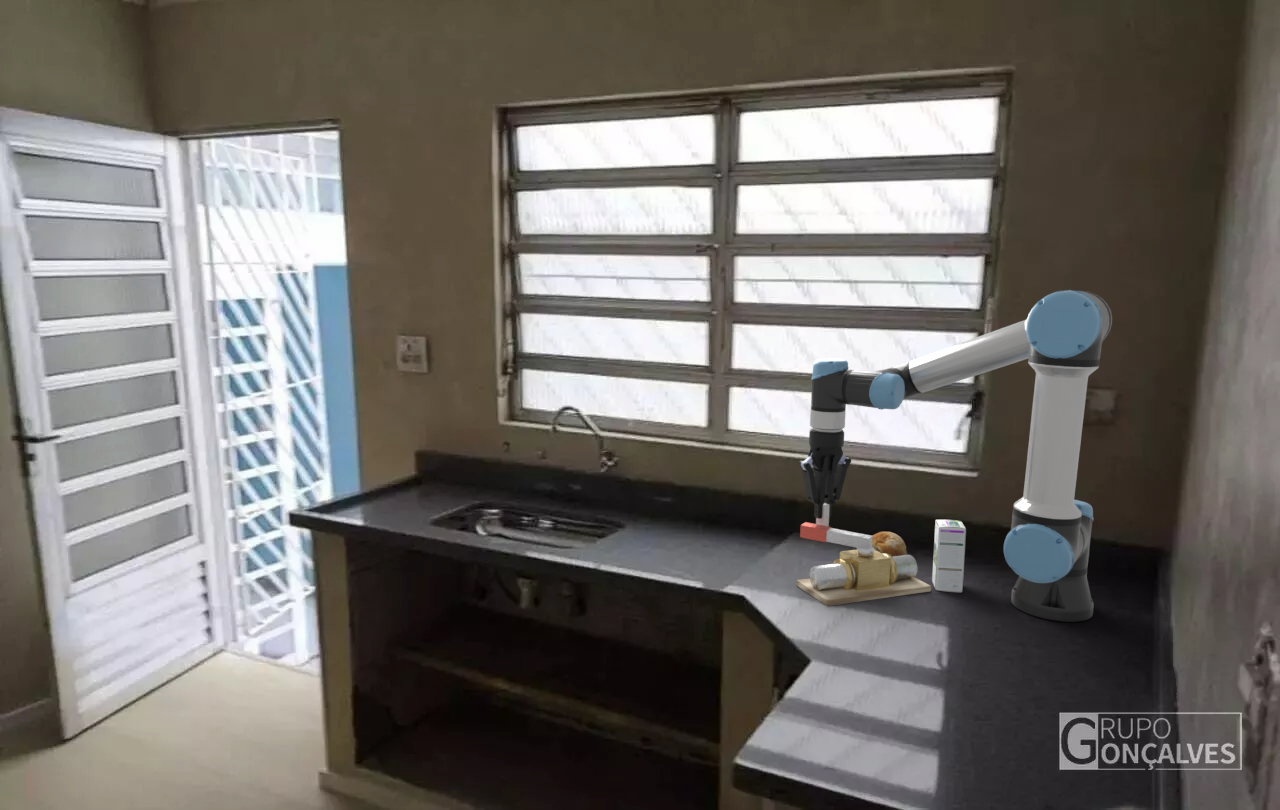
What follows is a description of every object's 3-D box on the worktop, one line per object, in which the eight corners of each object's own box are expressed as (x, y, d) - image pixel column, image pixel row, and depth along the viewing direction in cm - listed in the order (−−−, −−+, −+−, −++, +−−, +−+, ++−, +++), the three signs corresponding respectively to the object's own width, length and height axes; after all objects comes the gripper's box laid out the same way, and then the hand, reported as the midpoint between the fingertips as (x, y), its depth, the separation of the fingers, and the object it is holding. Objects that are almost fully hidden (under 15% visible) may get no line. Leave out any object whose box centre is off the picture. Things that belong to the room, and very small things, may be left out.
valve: (899, 575, 186) (901, 544, 185) (919, 586, 179) (921, 554, 178) (806, 587, 178) (808, 555, 177) (824, 599, 171) (826, 565, 170)
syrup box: (963, 593, 177) (968, 527, 175) (934, 590, 178) (938, 525, 176) (958, 583, 182) (963, 520, 180) (930, 581, 184) (934, 518, 181)
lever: (876, 553, 178) (877, 535, 177) (870, 557, 175) (871, 539, 174) (805, 538, 187) (806, 521, 186) (799, 543, 184) (799, 525, 183)
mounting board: (930, 591, 178) (931, 585, 177) (826, 606, 169) (827, 600, 169) (895, 572, 189) (896, 567, 188) (796, 585, 180) (796, 580, 180)
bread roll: (903, 578, 195) (920, 549, 194) (865, 560, 195) (881, 531, 193) (891, 564, 205) (907, 536, 204) (855, 546, 204) (870, 518, 203)
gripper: (839, 423, 188) (834, 523, 192) (792, 427, 182) (788, 530, 186) (861, 429, 181) (855, 532, 185) (813, 434, 175) (808, 540, 179)
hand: (821, 531), depth 186 cm, fingers closed
